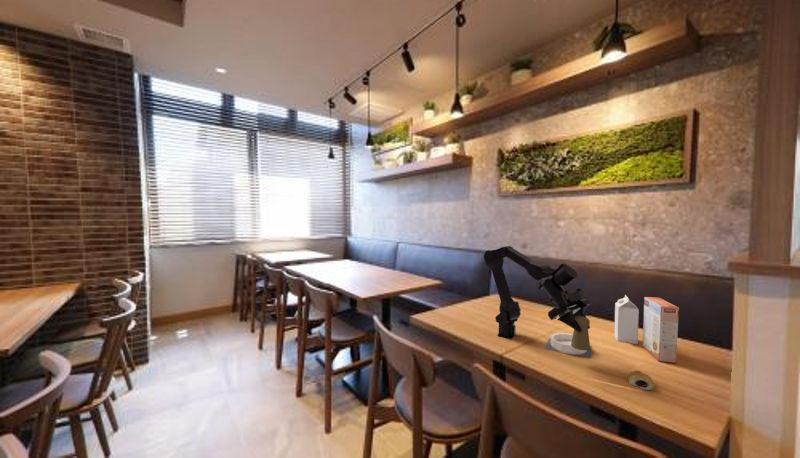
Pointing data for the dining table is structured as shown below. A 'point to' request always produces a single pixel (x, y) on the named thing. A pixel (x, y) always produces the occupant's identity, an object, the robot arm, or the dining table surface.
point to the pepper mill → (581, 334)
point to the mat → (586, 355)
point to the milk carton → (626, 321)
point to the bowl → (564, 344)
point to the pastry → (641, 380)
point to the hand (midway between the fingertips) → (584, 330)
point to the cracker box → (660, 329)
